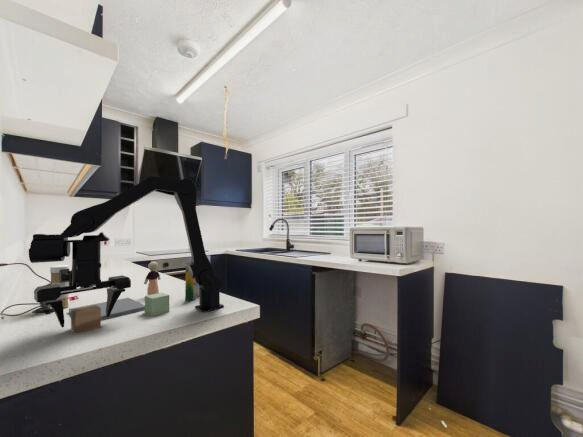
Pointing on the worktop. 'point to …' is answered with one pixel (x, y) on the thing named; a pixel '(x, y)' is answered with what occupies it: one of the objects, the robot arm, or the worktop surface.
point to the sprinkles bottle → (55, 280)
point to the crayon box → (191, 287)
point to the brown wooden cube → (85, 319)
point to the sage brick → (156, 304)
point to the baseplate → (119, 308)
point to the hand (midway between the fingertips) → (86, 321)
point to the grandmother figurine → (152, 279)
